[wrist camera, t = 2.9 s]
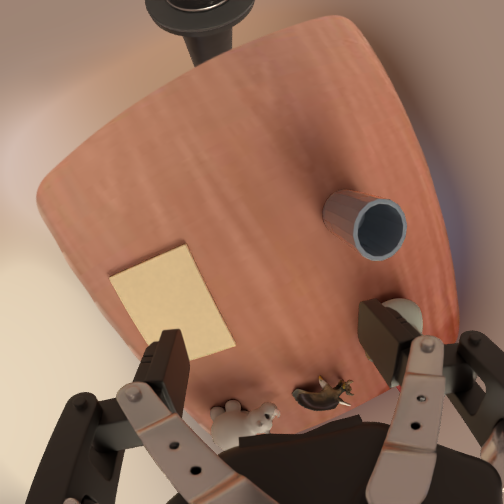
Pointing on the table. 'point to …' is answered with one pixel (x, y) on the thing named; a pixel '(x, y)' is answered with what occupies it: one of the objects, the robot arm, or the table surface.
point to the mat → (173, 302)
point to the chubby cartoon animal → (240, 422)
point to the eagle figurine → (323, 396)
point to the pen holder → (366, 223)
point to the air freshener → (406, 313)
